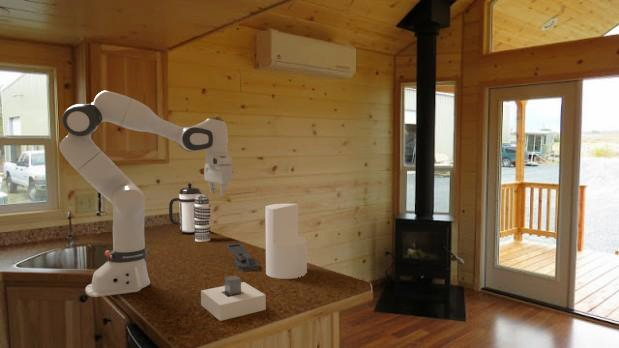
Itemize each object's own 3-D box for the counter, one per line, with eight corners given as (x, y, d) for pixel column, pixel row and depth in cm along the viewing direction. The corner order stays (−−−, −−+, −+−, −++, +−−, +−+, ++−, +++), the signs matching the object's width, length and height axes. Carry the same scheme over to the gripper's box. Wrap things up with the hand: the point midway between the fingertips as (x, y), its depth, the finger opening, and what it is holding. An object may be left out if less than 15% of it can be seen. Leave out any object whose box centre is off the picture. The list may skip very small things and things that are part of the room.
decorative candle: (196, 238, 251) (195, 194, 249) (213, 238, 250) (212, 194, 248) (191, 241, 242) (190, 196, 240) (208, 241, 241) (207, 196, 239)
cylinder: (257, 274, 183) (256, 207, 181) (282, 264, 198) (282, 202, 196) (291, 281, 174) (290, 211, 172) (314, 270, 188) (314, 205, 186)
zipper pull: (241, 242, 212) (260, 254, 190) (241, 255, 213) (261, 269, 191) (223, 244, 208) (241, 256, 186) (223, 258, 209) (241, 272, 187)
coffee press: (196, 228, 276) (195, 181, 274) (207, 233, 264) (206, 183, 262) (169, 232, 265) (167, 183, 263) (180, 237, 253) (178, 185, 251)
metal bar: (230, 310, 144) (229, 280, 144) (225, 306, 148) (224, 277, 147) (241, 307, 147) (240, 278, 146) (236, 304, 150) (235, 275, 149)
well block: (220, 321, 136) (219, 305, 136) (201, 305, 149) (200, 290, 149) (265, 309, 145) (265, 294, 145) (244, 295, 158) (243, 281, 158)
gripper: (199, 158, 182) (200, 191, 183) (219, 160, 166) (220, 197, 167) (214, 158, 186) (215, 190, 187) (235, 160, 169) (235, 195, 170)
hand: (217, 193), depth 177 cm, fingers open, 8 cm apart
